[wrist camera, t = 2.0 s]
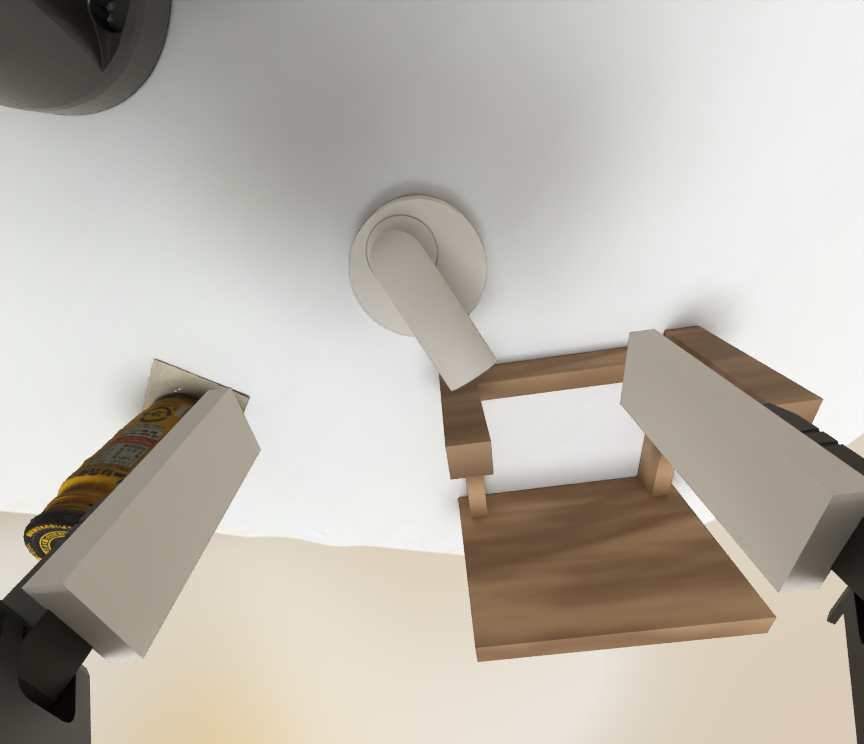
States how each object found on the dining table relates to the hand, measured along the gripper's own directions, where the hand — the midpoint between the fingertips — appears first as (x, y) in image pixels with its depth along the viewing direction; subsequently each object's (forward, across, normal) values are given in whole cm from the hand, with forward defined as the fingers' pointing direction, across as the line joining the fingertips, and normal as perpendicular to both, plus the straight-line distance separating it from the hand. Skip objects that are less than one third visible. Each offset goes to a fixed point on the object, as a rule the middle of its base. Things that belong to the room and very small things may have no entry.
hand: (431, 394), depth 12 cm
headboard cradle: (+15, +10, -16) cm, 24 cm away
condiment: (+15, -21, -9) cm, 27 cm away
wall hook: (+15, 0, 0) cm, 15 cm away
